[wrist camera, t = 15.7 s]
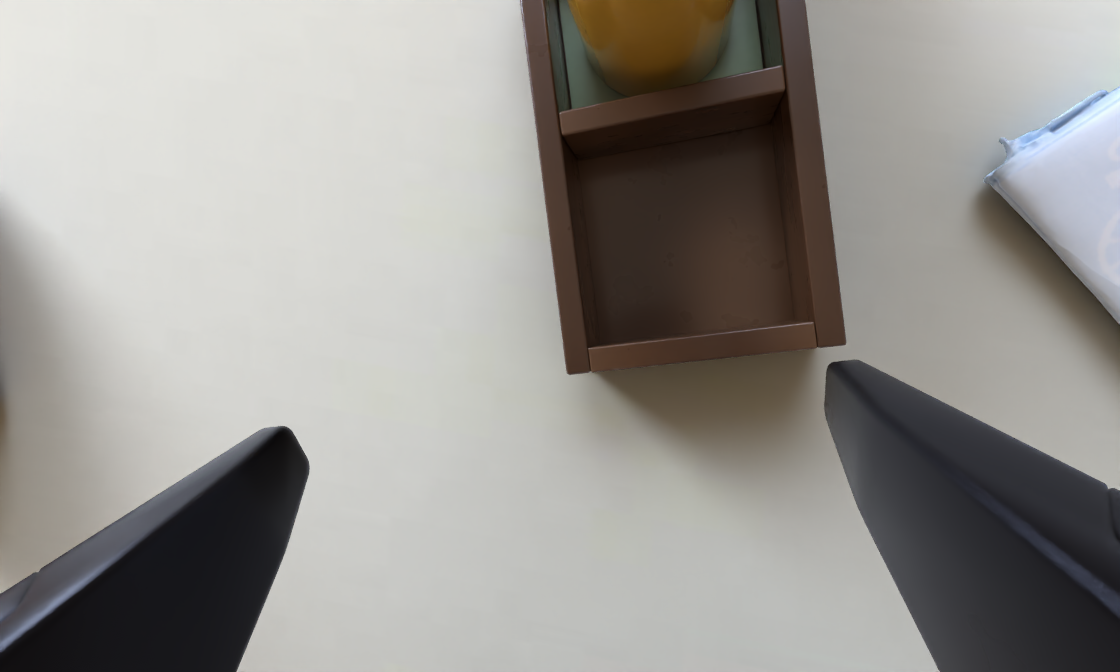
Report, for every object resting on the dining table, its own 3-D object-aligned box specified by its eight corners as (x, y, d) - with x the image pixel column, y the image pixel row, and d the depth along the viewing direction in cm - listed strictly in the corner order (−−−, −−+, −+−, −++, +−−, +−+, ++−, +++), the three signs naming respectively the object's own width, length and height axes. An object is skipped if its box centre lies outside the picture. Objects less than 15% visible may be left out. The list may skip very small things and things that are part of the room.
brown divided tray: (585, 365, 21) (566, 375, 18) (533, -49, 21) (504, -121, 18) (817, 339, 20) (847, 345, 16) (762, -113, 19) (781, -207, 16)
